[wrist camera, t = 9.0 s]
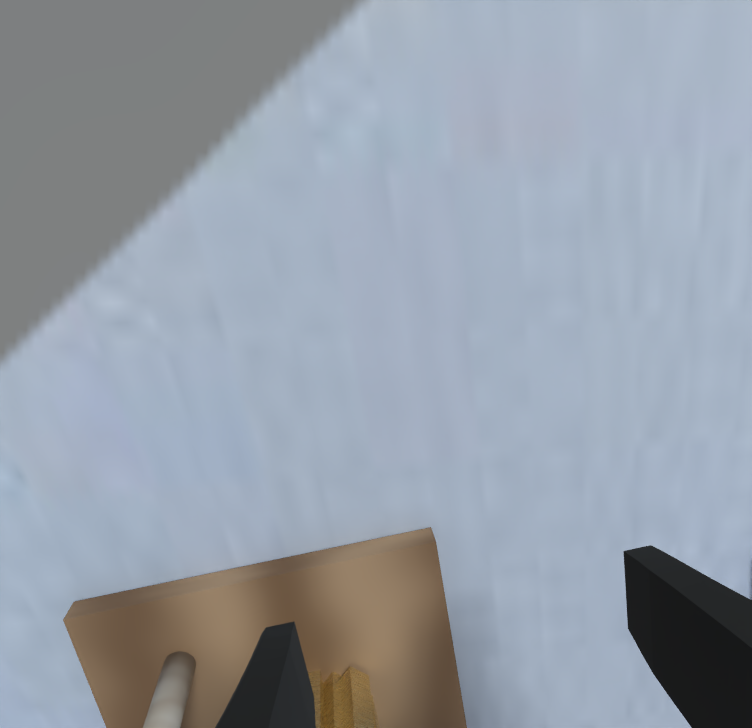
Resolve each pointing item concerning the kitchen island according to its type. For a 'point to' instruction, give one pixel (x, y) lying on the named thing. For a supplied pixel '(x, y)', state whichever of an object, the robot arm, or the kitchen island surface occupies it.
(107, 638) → the gear board
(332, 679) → the brass gear
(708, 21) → the kitchen island surface
